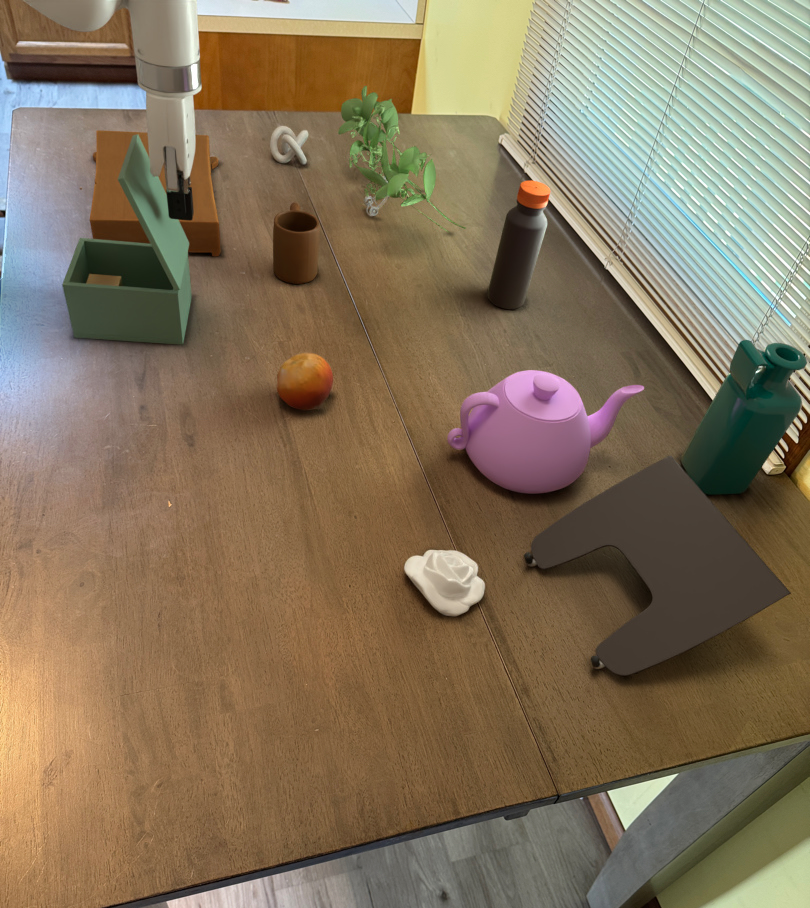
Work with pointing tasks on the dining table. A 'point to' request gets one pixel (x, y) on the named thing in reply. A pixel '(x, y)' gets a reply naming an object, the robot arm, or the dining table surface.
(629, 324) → the dining table surface
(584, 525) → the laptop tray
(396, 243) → the dining table surface
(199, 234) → the wooden box
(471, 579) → the rose
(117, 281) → the block
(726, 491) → the dark green tall bottle
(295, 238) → the mug
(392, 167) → the plant cuttings
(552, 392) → the teapot
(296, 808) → the dining table surface
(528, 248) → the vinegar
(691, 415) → the dining table surface
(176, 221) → the lid
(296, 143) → the knot
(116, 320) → the chest
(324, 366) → the fruit
